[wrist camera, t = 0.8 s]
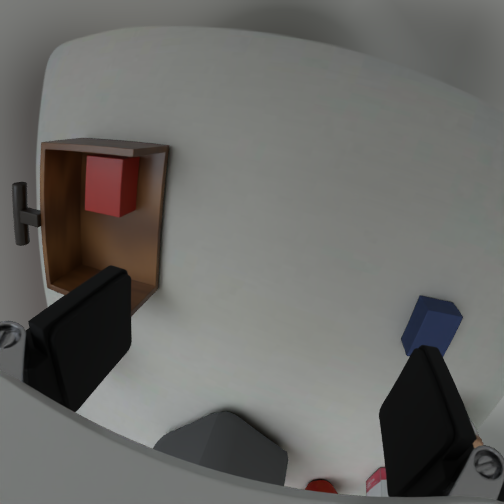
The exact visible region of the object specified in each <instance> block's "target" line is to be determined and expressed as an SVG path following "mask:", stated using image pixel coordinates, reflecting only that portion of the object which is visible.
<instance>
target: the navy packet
mask: <svg viewBox="0 0 504 504" xmlns="http://www.w3.org/2000/svg"><path fill="white" fill-rule="evenodd" d="M462 319H463V316H462V315H461V313H460V312H459V310H458V309H457V307H456V306H455V305H454V303H452V302H448V301H443V300H439V299H434V298H429V297H425V296H419V299H418V301H417V304H416V306H415V308H414V311H413V313H412V316H411V318H410V320H409V322H408V325H407V327H406V329H405V331H404V334H403V336H402V338H401V340H402V343H403V346H404V349H405V352H406V355H407V356H410V355H411V353H412V352H413V350H414V349H415V348H419V347H420V346H421V345H427V346H432V347H437V348H438V349H439V351H440V353H441V355H442V357H443V356H444V354H445V352H446V350H447V348H448V347H449V345H450V343H451V341H452V339H453V337H454V335H455V333H456V331H457V329H458V327H459V325H460V323H461V321H462Z"/></svg>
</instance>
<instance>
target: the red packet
mask: <svg viewBox="0 0 504 504" xmlns="http://www.w3.org/2000/svg"><path fill="white" fill-rule="evenodd" d="M139 160H140V157H139V156H138V157H126V156H117V155H107V154H92V155H87V163H86V184H85V210H86V211H91V212H96V213H100V214H105V215H110V216H114V217H119V218H120V217H122V216H124V215H126V214H128V213H131V212H133V211H135V210H136V196H137V182H138V170H139Z"/></svg>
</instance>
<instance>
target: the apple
mask: <svg viewBox="0 0 504 504" xmlns="http://www.w3.org/2000/svg"><path fill="white" fill-rule="evenodd" d="M305 490H310V491H317V492H325V493H334V494H338V493H337V492H336V490H335V488H334V487H333V485H332V484H331V483H329V482H328V481H325V480H317V481H312V482H310V483H309V484H308V485H307V487H306V488H305Z"/></svg>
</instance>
